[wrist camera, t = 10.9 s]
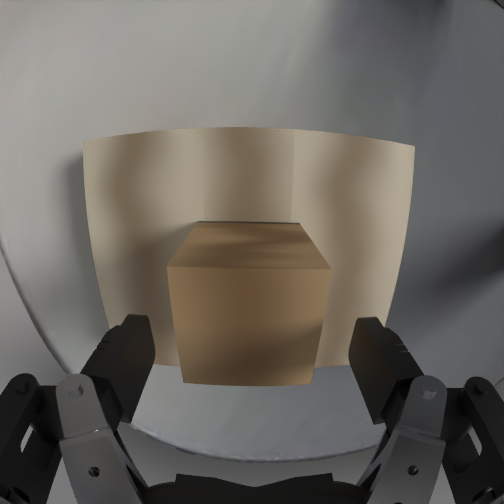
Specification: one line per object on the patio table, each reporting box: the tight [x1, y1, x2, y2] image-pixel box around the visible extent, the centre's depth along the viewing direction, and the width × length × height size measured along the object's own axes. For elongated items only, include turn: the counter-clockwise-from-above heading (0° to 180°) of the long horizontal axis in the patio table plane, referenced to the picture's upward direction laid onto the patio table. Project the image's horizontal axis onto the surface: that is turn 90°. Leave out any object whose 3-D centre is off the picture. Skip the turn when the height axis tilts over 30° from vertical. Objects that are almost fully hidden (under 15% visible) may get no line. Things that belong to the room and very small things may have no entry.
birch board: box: [83, 127, 415, 368], centre depth 18 cm, size 20×16×4 cm
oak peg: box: [167, 221, 332, 386], centre depth 15 cm, size 6×6×10 cm
